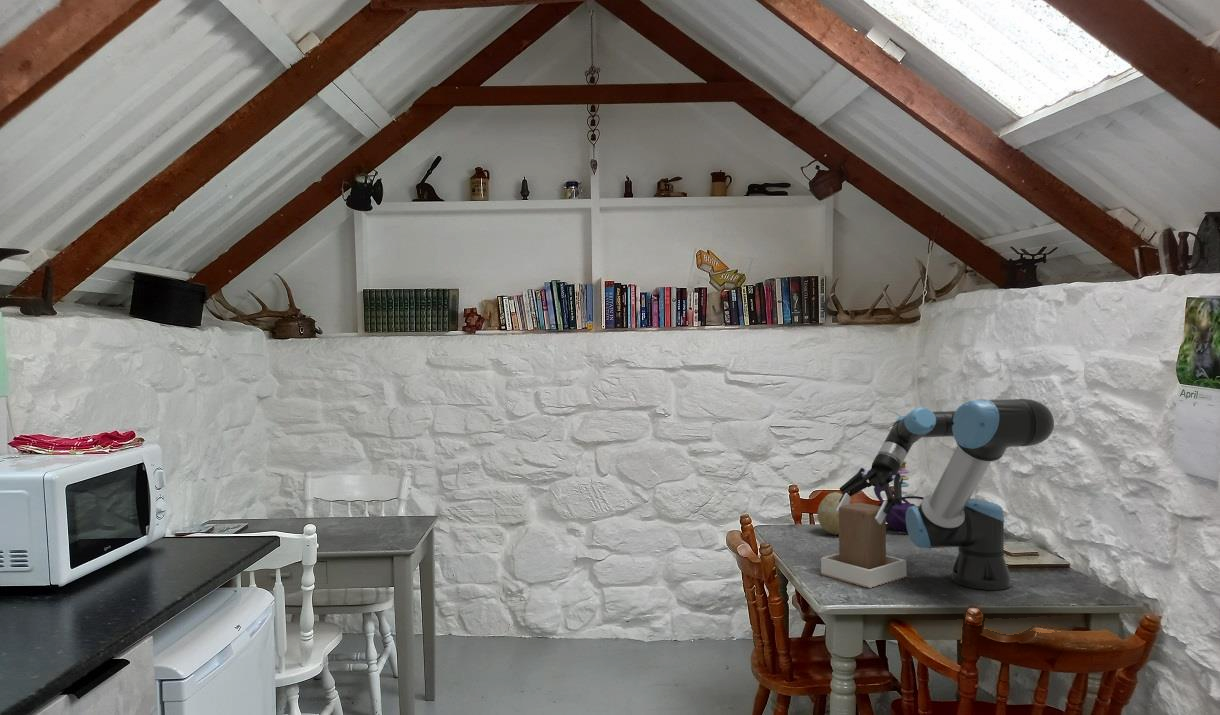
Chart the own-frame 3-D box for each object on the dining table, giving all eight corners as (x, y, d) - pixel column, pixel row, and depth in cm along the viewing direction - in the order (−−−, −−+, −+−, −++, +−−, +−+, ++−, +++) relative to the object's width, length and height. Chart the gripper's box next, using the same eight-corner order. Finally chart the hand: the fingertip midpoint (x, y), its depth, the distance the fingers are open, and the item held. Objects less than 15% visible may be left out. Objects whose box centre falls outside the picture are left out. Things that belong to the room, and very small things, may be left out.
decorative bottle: (926, 539, 265) (926, 467, 265) (864, 532, 276) (863, 463, 276) (936, 525, 285) (936, 458, 284) (878, 519, 295) (877, 455, 295)
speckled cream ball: (810, 533, 276) (809, 492, 276) (832, 528, 284) (831, 487, 283) (840, 540, 266) (839, 497, 266) (862, 534, 274) (861, 492, 273)
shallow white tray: (906, 577, 224) (906, 560, 224) (870, 588, 214) (870, 571, 214) (857, 564, 238) (857, 548, 238) (821, 574, 228) (821, 557, 228)
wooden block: (867, 581, 220) (866, 511, 219) (837, 573, 228) (837, 505, 227) (887, 574, 226) (886, 506, 225) (858, 566, 234) (857, 501, 233)
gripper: (931, 473, 224) (901, 533, 216) (859, 463, 245) (829, 517, 236) (920, 457, 221) (889, 516, 213) (848, 448, 242) (817, 502, 233)
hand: (857, 517), depth 225 cm, fingers open, 13 cm apart
